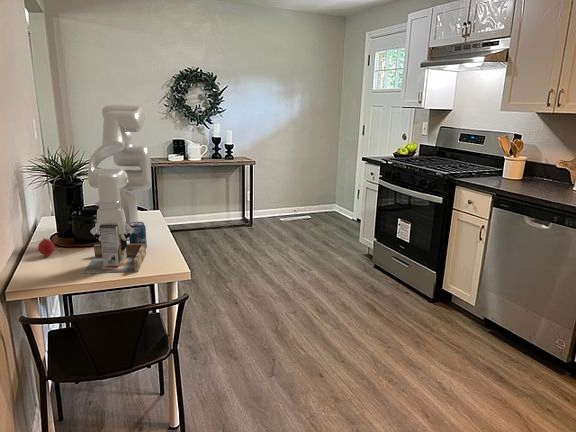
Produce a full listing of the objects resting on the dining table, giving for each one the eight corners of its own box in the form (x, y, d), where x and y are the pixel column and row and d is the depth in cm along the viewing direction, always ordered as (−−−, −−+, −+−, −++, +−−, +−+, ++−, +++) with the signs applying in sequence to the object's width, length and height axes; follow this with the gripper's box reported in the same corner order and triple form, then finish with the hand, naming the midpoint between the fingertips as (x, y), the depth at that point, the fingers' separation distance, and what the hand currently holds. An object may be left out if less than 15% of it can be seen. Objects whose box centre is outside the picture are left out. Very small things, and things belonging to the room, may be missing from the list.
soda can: (141, 253, 180) (139, 226, 176) (126, 251, 181) (124, 225, 178) (150, 248, 186) (148, 221, 183) (135, 246, 187) (133, 220, 184)
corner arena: (95, 255, 175) (94, 244, 174) (145, 254, 178) (145, 243, 177) (82, 273, 158) (81, 261, 157) (138, 271, 161) (137, 259, 160)
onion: (51, 252, 177) (49, 234, 175) (58, 256, 174) (55, 237, 172) (36, 256, 173) (34, 237, 171) (42, 260, 170) (40, 241, 167)
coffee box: (111, 256, 171) (107, 218, 167) (127, 257, 172) (124, 219, 167) (102, 265, 163) (98, 225, 158) (119, 266, 163) (116, 226, 158)
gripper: (83, 208, 156) (87, 253, 161) (132, 207, 159) (135, 252, 164) (89, 202, 163) (93, 246, 168) (135, 202, 166) (139, 245, 171)
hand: (114, 248), depth 166 cm, fingers closed on coffee box, 6 cm apart
